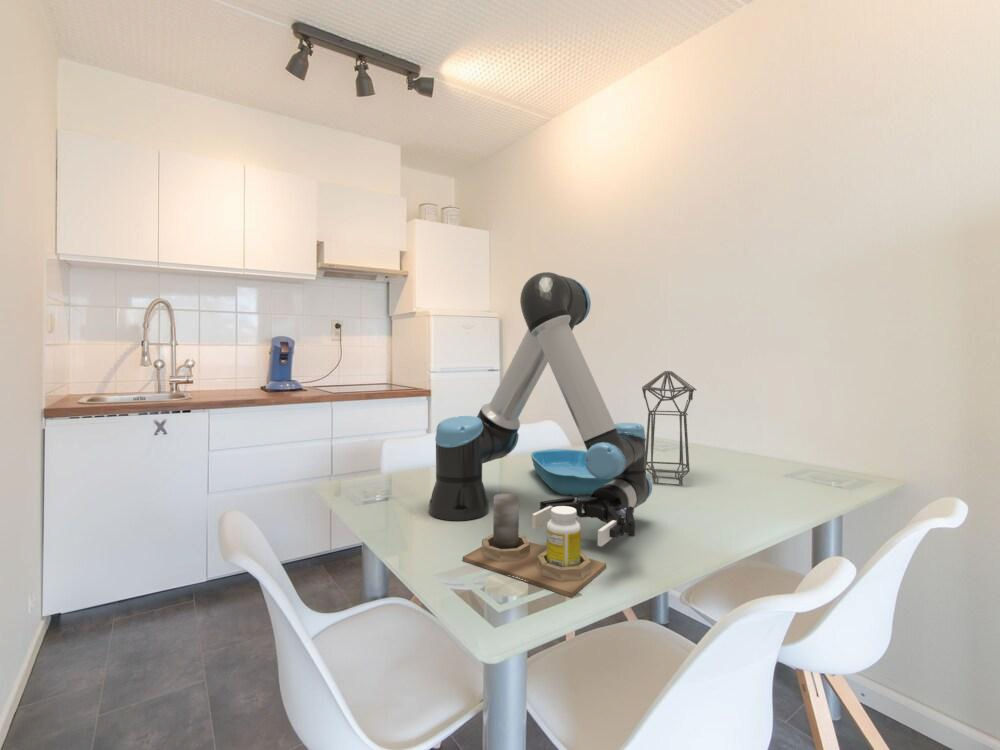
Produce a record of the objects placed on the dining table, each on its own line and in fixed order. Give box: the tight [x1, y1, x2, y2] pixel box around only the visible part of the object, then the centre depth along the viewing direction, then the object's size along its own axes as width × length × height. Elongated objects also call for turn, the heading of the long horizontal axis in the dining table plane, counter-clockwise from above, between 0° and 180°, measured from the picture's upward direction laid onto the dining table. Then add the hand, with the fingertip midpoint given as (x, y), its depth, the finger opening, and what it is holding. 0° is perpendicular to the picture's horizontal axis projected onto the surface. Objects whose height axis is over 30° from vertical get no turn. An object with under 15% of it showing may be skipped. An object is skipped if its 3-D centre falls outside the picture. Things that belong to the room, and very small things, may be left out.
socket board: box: [462, 492, 607, 598], centre depth 93 cm, size 24×14×12 cm, turn 54°
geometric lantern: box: [641, 370, 697, 486], centre depth 154 cm, size 16×16×35 cm
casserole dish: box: [530, 448, 613, 496], centre depth 152 cm, size 37×22×7 cm, turn 10°
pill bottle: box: [546, 506, 582, 567], centre depth 89 cm, size 6×6×11 cm
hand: (564, 529), depth 89 cm, fingers open, 13 cm apart
